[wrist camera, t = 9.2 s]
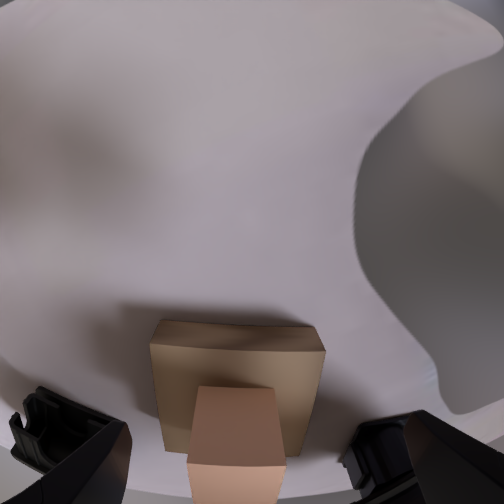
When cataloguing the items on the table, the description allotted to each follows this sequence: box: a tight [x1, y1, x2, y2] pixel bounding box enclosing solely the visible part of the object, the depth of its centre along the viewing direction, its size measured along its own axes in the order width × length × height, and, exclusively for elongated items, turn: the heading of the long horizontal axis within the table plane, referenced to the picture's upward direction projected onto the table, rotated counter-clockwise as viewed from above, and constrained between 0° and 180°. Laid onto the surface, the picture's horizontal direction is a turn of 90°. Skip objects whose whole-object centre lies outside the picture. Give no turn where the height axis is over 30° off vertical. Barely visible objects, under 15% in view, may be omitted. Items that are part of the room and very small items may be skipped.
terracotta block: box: [187, 386, 287, 504], centre depth 15 cm, size 4×4×6 cm
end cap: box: [9, 386, 120, 475], centre depth 18 cm, size 10×7×7 cm
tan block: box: [149, 320, 326, 457], centre depth 19 cm, size 10×10×3 cm
